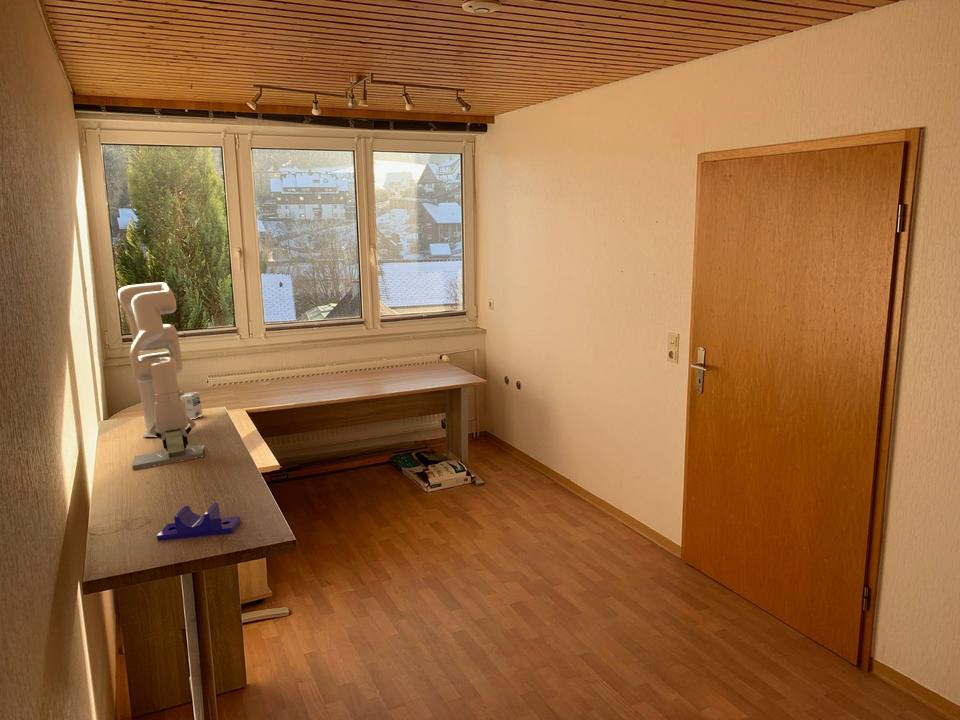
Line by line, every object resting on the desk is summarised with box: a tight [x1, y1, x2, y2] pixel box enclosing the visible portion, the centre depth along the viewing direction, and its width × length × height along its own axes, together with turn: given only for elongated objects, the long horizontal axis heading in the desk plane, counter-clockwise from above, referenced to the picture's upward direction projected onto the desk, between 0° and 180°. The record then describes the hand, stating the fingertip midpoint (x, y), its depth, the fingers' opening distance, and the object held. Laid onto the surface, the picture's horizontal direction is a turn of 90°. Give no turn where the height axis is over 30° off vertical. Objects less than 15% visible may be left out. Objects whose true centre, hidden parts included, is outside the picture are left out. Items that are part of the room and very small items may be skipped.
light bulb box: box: [180, 391, 203, 418], centre depth 300 cm, size 11×7×11 cm, turn 84°
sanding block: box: [165, 429, 185, 458], centre depth 243 cm, size 9×5×8 cm, turn 22°
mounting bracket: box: [156, 502, 241, 542], centre depth 176 cm, size 18×7×6 cm, turn 93°
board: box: [131, 444, 205, 471], centre depth 243 cm, size 12×23×2 cm, turn 112°
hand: (176, 448), depth 244 cm, fingers closed on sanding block, 5 cm apart
